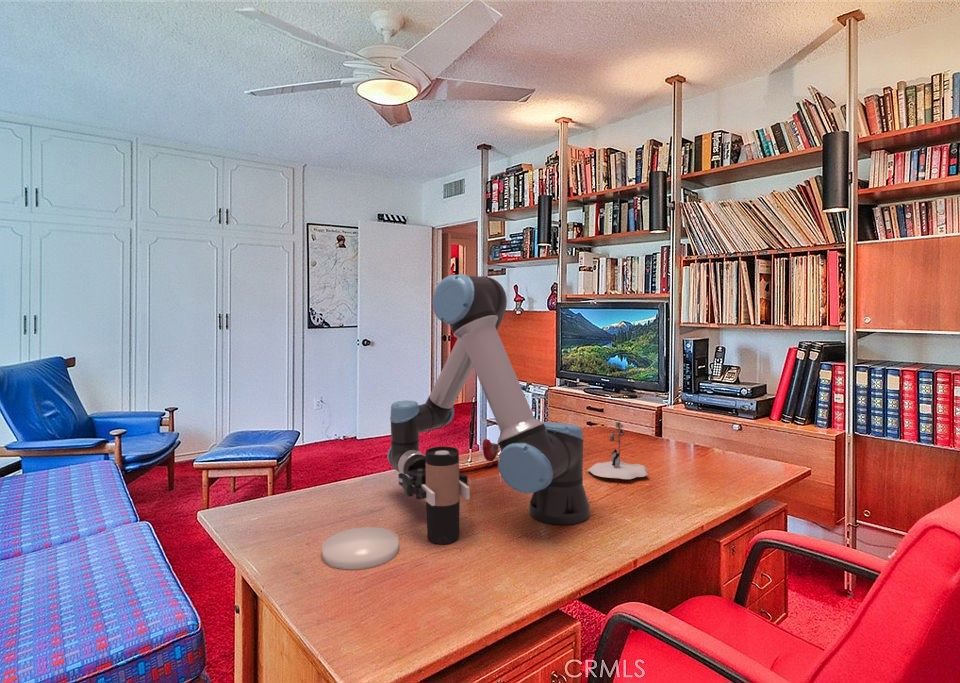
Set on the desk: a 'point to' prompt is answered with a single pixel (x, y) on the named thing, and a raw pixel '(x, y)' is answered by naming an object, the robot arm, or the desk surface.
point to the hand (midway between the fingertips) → (450, 496)
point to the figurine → (618, 464)
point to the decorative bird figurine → (490, 450)
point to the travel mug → (443, 494)
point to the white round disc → (360, 548)
